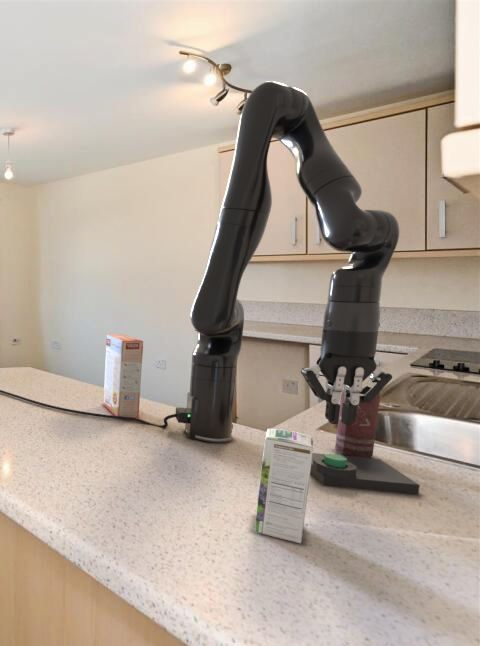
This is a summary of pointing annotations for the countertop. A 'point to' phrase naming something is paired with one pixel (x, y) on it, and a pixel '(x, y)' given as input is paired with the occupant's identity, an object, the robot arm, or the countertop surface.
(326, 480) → the scale
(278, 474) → the syrup box
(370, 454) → the can
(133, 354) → the cracker box
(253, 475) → the countertop surface
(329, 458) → the tare button
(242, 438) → the countertop surface
